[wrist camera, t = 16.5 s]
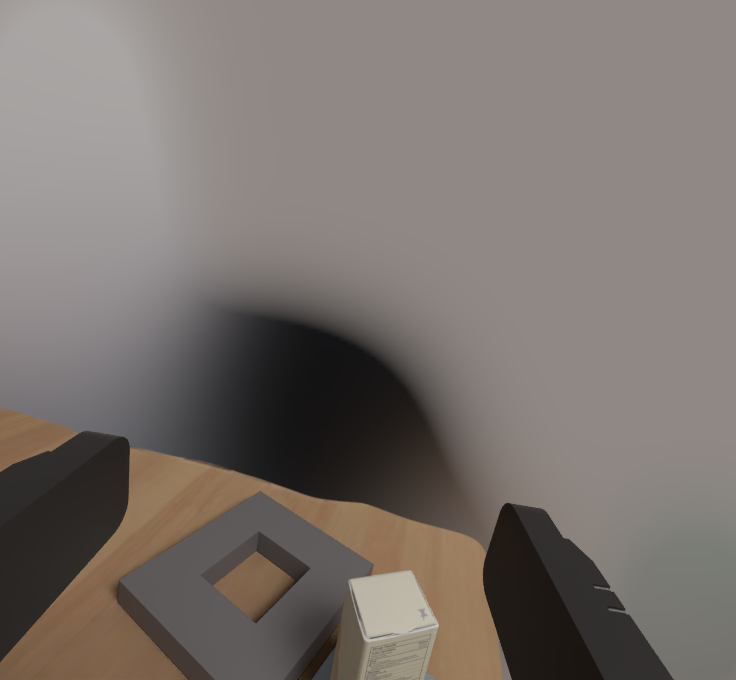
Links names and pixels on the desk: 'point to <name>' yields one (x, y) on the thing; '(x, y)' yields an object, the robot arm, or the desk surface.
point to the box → (384, 630)
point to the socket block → (221, 617)
